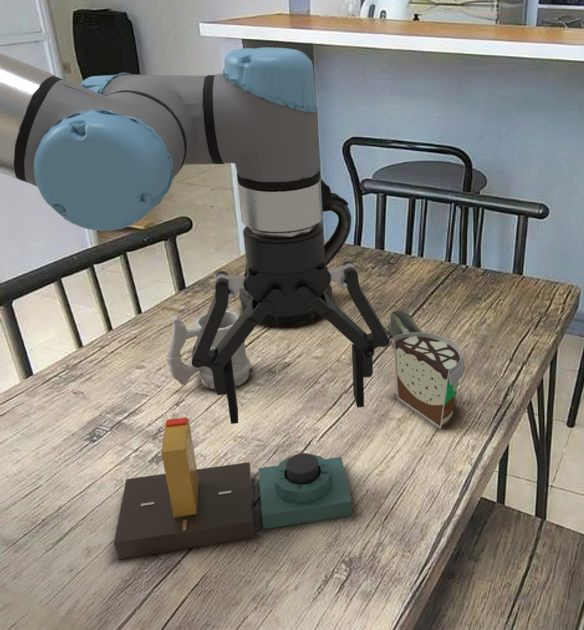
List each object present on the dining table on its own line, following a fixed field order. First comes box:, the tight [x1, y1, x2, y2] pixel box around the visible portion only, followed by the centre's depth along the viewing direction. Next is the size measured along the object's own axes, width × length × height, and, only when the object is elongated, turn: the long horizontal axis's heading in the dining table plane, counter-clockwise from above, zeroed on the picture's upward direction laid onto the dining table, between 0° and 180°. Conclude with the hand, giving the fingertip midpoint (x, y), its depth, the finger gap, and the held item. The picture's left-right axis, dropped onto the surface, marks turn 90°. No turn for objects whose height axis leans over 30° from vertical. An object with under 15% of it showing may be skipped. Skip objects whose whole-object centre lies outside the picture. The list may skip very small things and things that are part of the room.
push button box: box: [258, 454, 353, 530], centre depth 80 cm, size 10×8×4 cm
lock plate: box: [113, 461, 255, 560], centre depth 77 cm, size 14×10×3 cm
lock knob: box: [160, 417, 199, 517], centre depth 74 cm, size 6×2×9 cm, turn 14°
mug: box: [165, 309, 251, 390], centre depth 99 cm, size 8×12×12 cm, turn 127°
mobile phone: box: [385, 310, 423, 338], centre depth 110 cm, size 5×3×15 cm
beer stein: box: [238, 178, 352, 329], centre depth 119 cm, size 16×19×25 cm
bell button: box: [286, 452, 319, 485], centre depth 78 cm, size 4×4×2 cm
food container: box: [391, 331, 466, 430], centre depth 96 cm, size 12×6×10 cm, turn 41°
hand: (297, 408), depth 74 cm, fingers open, 13 cm apart
